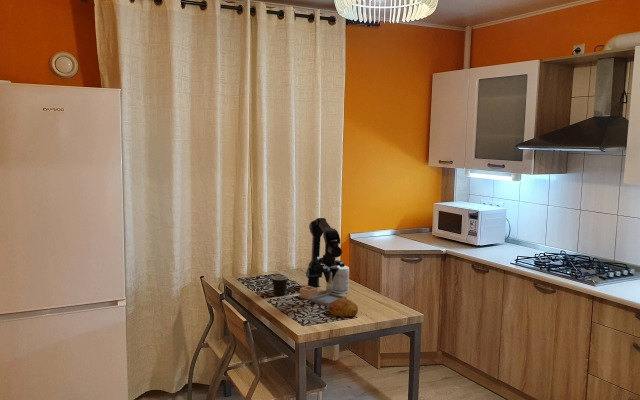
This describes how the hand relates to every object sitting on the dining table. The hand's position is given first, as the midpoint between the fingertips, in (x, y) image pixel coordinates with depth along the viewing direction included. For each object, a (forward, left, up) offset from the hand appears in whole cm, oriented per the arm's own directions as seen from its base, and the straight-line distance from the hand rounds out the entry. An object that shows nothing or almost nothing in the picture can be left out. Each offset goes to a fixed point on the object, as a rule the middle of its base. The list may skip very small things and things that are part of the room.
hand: (329, 281), depth 274 cm
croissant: (+9, +16, -12) cm, 22 cm away
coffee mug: (+10, -27, -11) cm, 31 cm away
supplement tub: (-19, -7, -11) cm, 23 cm away
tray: (0, 0, -11) cm, 11 cm away
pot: (+3, -12, -11) cm, 17 cm away
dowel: (0, 0, -6) cm, 6 cm away
